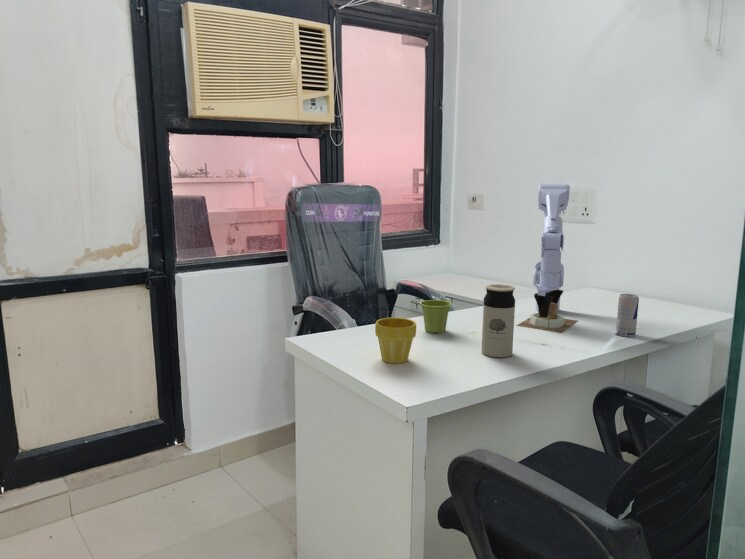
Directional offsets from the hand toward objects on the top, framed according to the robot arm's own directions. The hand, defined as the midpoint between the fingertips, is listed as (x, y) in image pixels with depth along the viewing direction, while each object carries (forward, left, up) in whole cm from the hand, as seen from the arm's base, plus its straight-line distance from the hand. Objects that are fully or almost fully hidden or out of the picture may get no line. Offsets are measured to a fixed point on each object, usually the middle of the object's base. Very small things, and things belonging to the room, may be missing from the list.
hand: (547, 314), depth 172 cm
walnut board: (-1, 0, -4) cm, 4 cm away
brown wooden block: (0, 0, -2) cm, 2 cm away
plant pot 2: (+25, -26, -4) cm, 36 cm away
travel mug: (+35, -2, -4) cm, 35 cm away
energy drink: (-5, +22, -4) cm, 23 cm away
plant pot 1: (+55, -21, -4) cm, 59 cm away
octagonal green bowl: (0, 0, -3) cm, 3 cm away
